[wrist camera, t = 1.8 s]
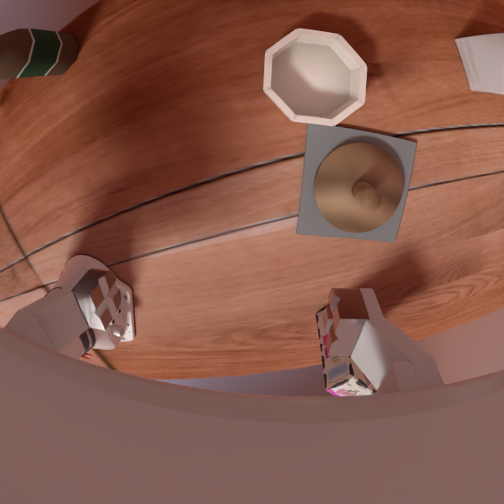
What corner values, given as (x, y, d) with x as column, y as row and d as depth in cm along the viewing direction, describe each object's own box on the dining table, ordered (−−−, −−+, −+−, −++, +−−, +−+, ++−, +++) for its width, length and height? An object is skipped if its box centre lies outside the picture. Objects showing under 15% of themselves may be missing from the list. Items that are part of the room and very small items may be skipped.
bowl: (350, 127, 32) (361, 130, 28) (262, 117, 33) (261, 119, 28) (355, 47, 27) (368, 40, 22) (266, 35, 27) (266, 25, 23)
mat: (393, 240, 40) (394, 242, 40) (296, 232, 41) (296, 234, 40) (414, 142, 32) (416, 142, 32) (307, 122, 33) (308, 122, 32)
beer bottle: (79, 26, 25) (-40, 15, 4) (81, 66, 28) (-48, 76, 8) (46, 45, 25) (-66, 53, 5) (47, 83, 29) (-70, 108, 8)
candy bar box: (313, 314, 49) (323, 390, 35) (335, 299, 47) (354, 376, 33) (344, 342, 52) (358, 411, 38) (365, 330, 50) (384, 399, 36)
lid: (388, 232, 39) (402, 251, 34) (308, 225, 39) (313, 244, 35) (406, 150, 33) (425, 159, 28) (318, 135, 33) (327, 140, 28)
